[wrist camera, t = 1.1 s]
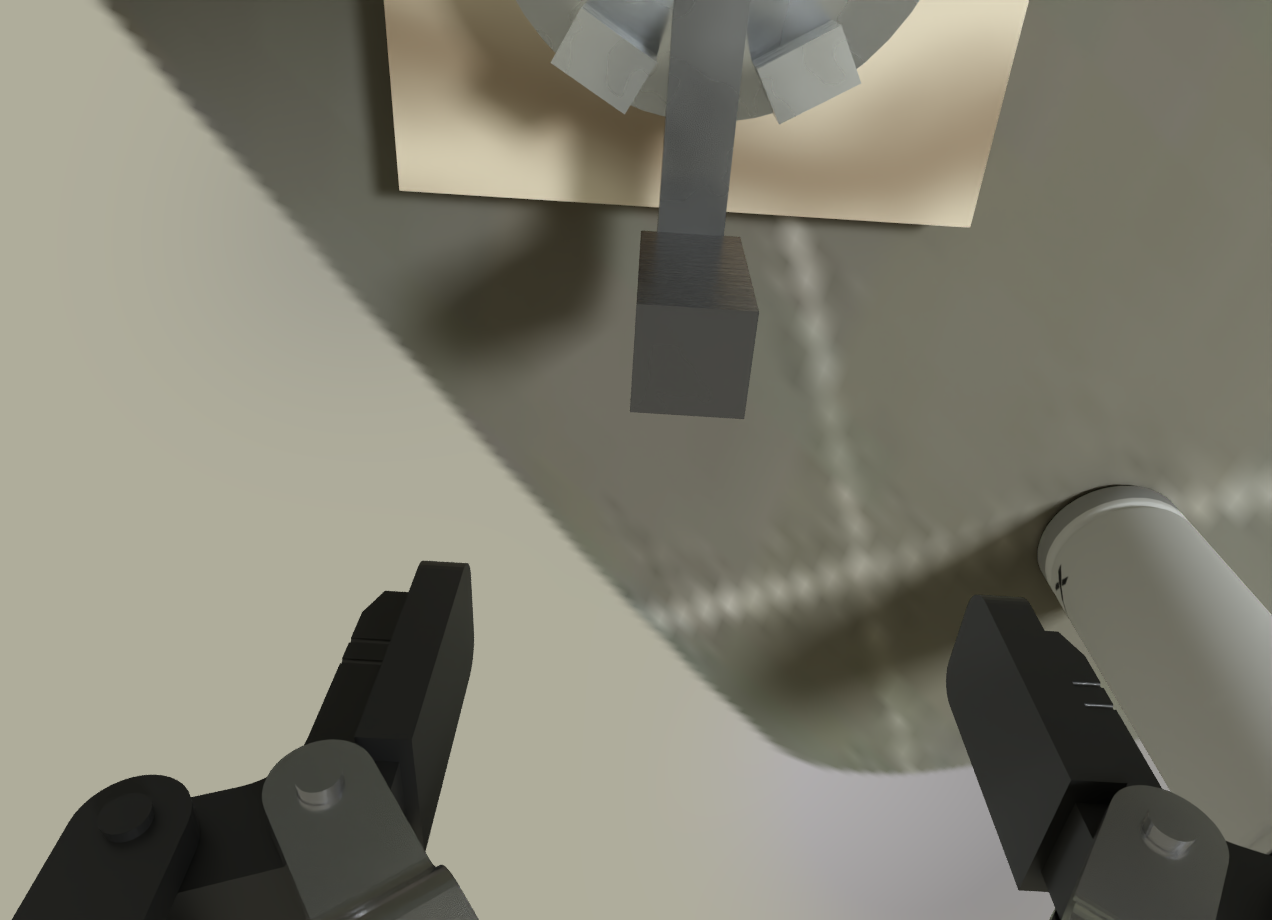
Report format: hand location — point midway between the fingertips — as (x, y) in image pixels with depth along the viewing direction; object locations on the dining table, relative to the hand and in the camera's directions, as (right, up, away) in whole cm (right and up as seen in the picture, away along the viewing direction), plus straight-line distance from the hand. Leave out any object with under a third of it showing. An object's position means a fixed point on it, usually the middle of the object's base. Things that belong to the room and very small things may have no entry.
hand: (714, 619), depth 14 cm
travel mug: (+20, -1, +26) cm, 33 cm away
